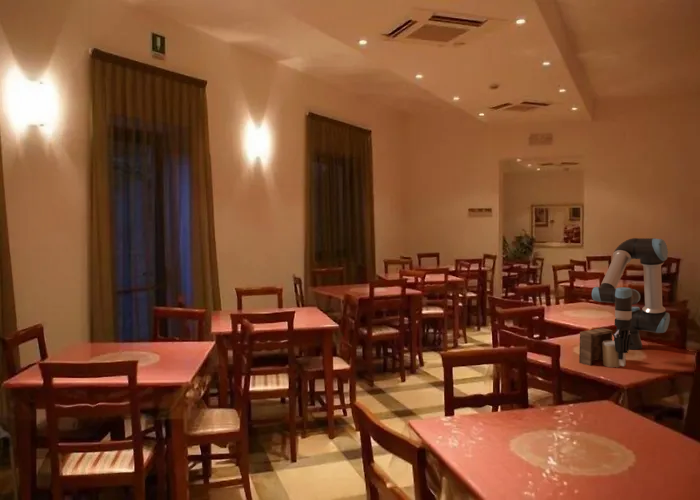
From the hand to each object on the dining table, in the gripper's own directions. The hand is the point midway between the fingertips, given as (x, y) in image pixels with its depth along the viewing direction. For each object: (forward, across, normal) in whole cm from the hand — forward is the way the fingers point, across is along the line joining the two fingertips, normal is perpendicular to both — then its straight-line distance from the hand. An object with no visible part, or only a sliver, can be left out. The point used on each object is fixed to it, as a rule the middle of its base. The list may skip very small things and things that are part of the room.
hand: (621, 365), depth 277 cm
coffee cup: (+2, 0, -6) cm, 6 cm away
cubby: (+1, 0, -15) cm, 15 cm away
